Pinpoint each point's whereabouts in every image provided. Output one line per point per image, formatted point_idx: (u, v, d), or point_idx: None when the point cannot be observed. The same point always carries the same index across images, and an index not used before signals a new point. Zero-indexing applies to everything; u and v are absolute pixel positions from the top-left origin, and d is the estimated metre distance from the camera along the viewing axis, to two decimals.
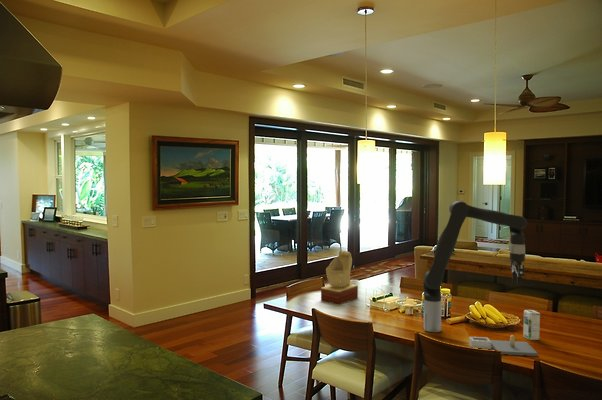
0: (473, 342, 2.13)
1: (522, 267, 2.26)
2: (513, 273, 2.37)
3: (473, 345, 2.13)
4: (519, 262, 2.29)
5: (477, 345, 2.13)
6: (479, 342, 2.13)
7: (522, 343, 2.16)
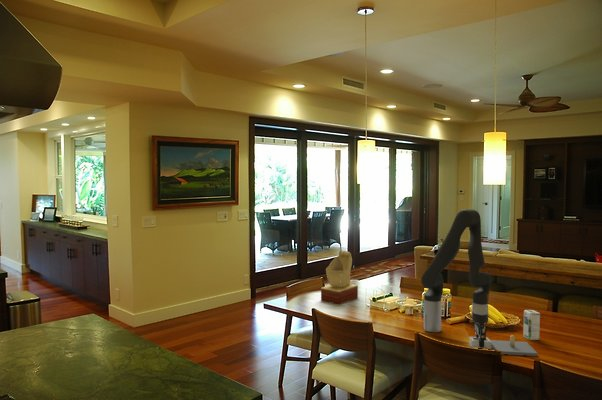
0: (473, 342, 2.13)
1: (484, 331, 2.09)
2: (477, 335, 2.19)
3: (473, 345, 2.13)
4: (481, 323, 2.12)
5: (477, 345, 2.13)
6: None
7: (522, 343, 2.16)
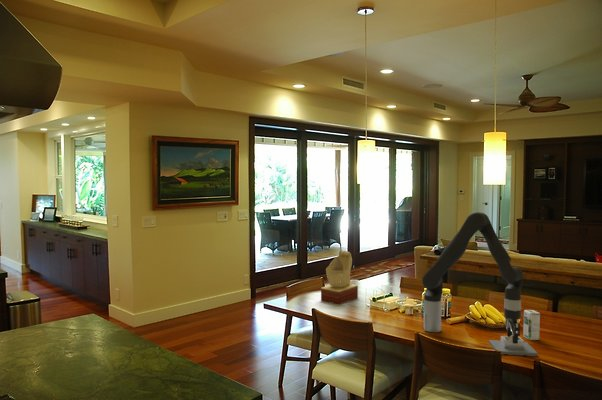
0: (505, 341, 2.10)
1: (518, 326, 2.05)
2: (508, 330, 2.16)
3: (505, 344, 2.10)
4: (514, 320, 2.08)
5: (510, 344, 2.10)
6: None
7: None
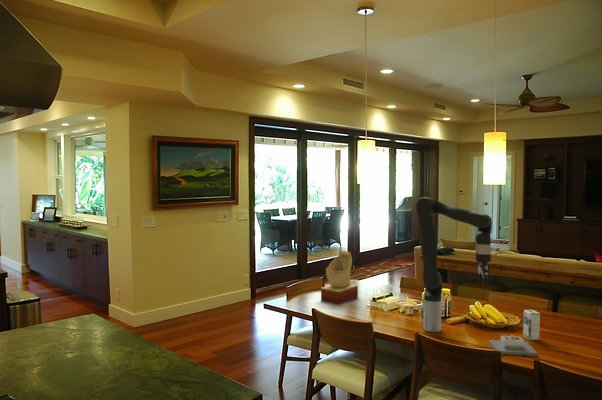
0: (505, 341, 2.10)
1: (487, 268, 2.18)
2: (480, 274, 2.29)
3: (505, 344, 2.10)
4: (484, 263, 2.21)
5: (510, 344, 2.10)
6: (512, 341, 2.10)
7: None
